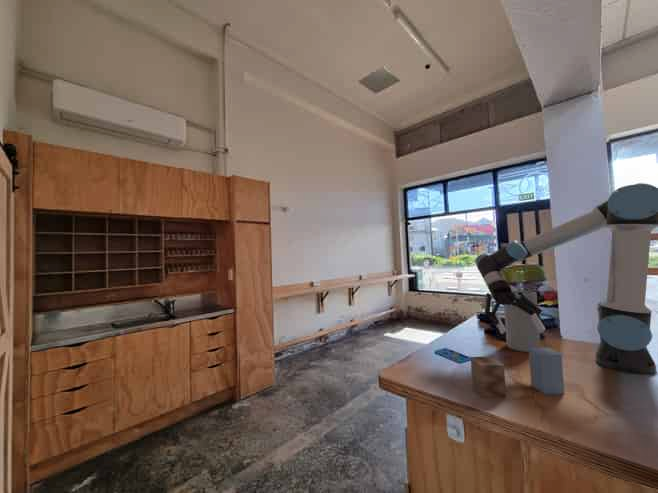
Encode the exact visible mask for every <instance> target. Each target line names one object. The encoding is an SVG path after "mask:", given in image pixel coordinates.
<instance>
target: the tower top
mask: <svg viewBox="0 0 658 493" xmlns="http://www.w3.org/2000/svg"><path fill="white" fill-rule="evenodd" d="M470 357H471V361H470V365H471V366H470V367H471V370H470V371H471V374H472V373H473V374H474V375H475V376H476V377H477V378H478V379H479V380H480V381H481V382H505V383H506V373H505V365H504V363H502V362H501V361H499V360H497V359H496V358H495V357H494V356H470Z"/></svg>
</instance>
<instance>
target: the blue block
mask: <svg viewBox="0 0 658 493" xmlns="http://www.w3.org/2000/svg"><path fill="white" fill-rule="evenodd" d="M562 356H563V355H562V354H561V353H559V352H557V351H555V350H553V349H552V348H549V347H541V348H529V352H528V360H529V371H530V373H529V374H530V385H531V386H532V387H534V388H536V390H538V391H539V392H541V393H542V394H543V395H548V394H549V395H550V394H551V395H554V394H555V395H565V383H564V381H565V380H564V373H563V372H564V370H563V369H564V368H563V358H562Z"/></svg>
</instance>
